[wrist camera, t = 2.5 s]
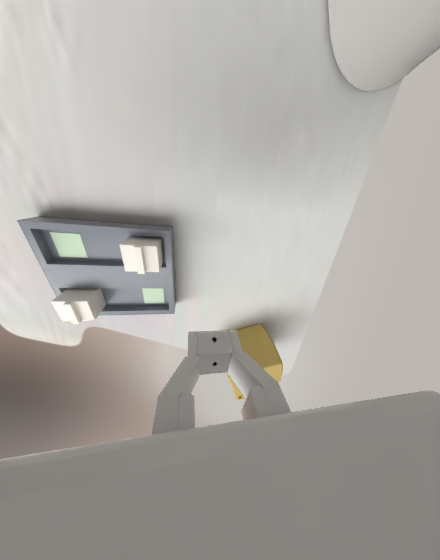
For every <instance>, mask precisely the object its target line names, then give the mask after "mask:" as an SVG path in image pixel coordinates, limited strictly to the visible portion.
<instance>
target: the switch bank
mask: <svg viewBox="0 0 440 560" xmlns="http://www.w3.org/2000/svg"><path fill="white" fill-rule="evenodd" d="M17 221H18V223H19V225H20V227H21V229H22V231H23V233H24V235H25V237H26V239H27V241H28V243H29V245H30V246H31V248H32V250H33V252H34V254H35V256H36V258H37V260H38V262H39V264H40V266H41V268H42V270H43V272H44V274H45V276H46V278H47V280H48V281H49V283H50V285H51V287H52V289H53V291H54V293H55V295H56V297H58V296H59V295H60V294H61V293H63V292H64V291H65V290H66V289H68V288H101V290H102V293H103V296H104V299H105V302H106V306H105V307H104V308H103V310H102V311H101V312H100V314H99V315H137V314H174V312H175V305H176V299H175V276H174V253H173V230H172V227H168V226H155V225H142V224H128V223H115V222H102V221H89V220H76V219H63V218H50V217H33V218H28V219H22V220H17ZM130 236H132V237H148V238H162V249H163V264H162V266H161V269H160V272H146V273H145V274H138V273H137V272H130V271H125V268H124V264H123V259H122V255H121V250H120V245H119V244H121V243H122V242H123V241H125V240H126V239H127V238H128V237H130Z"/></svg>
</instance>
